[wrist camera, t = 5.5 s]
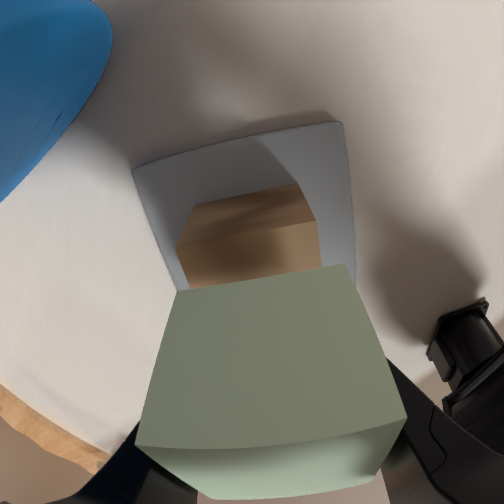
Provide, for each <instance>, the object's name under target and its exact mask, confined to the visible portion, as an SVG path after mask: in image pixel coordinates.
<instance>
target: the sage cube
mask: <svg viewBox="0 0 504 504" xmlns="http://www.w3.org/2000/svg"><path fill="white" fill-rule="evenodd" d="M406 420H407V415H406V412H405V409H404V406H403V403H402V400H401V397H400V395H399V392H398V389H397V386H396V384H395V381H394V378H393V375H392V373H391V370H390V368H389V365H388V362H387V360H386V357H385V355H384V352H383V350H382V347H381V345H380V342H379V340H378V337H377V335H376V333H375V330H374V328H373V325H372V323H371V321H370V318H369V316H368V314H367V311H366V309H365V307H364V304H363V302H362V300H361V298H360V296H359V293H358V291H357V289H356V287H355V284H354V282H353V280H352V278H351V276H350V274H349V272H348V269H347V267H346V265H345V263H343V264H338V265H332V266H327V267H321V268H316V269H310V270H304V271H299V272H293V273H287V274H281V275H275V276H270V277H264V278H258V279H251V280H245V281H239V282H233V283H227V284H220V285H214V286H207V287H201V288H194V289H188V290H181V291H177V293H176V296H175V299H174V302H173V306H172V309H171V312H170V315H169V318H168V322H167V325H166V328H165V332H164V335H163V338H162V342H161V345H160V349H159V352H158V355H157V359H156V363H155V366H154V370H153V373H152V377H151V381H150V384H149V388H148V392H147V396H146V400H145V404H144V407H143V411H142V415H141V420H140V424H139V428H138V432H137V436H136V441H135V446H137V447H138V448H139V449H140V450H141V451H143V452H144V453H145V454H147V455H148V456H149V457H150V458H152V459H153V460H154V461H156V462H157V463H158V464H160V465H161V466H162V467H164V468H165V469H167V470H168V471H169V472H171V473H172V474H174V475H175V476H177V477H178V478H180V479H181V480H183V481H184V482H186V483H187V484H189V485H190V486H192V487H193V488H195V489H197V490H198V491H200V492H201V493H203V494H205V495H206V496H208V497H210V498H212V499H224V500H226V499H227V500H228V499H229V500H242V499H243V500H244V499H266V498H267V499H268V498H281V497H292V496H300V495H308V494H315V493H321V492H327V491H333V490H338V489H343V488H348V487H352V486H356V485H361V484H365V483H369V482H371V481H372V479H373V478H374V476H375V475H376V473H377V471H378V470H379V468H380V467H381V465H382V463H383V462H384V460H385V458H386V457H387V455H388V453H389V451H390V450H391V448H392V446H393V444H394V443H395V441H396V439H397V437H398V435H399V433H400V431H401V430H402V428H403V426H404V424H405V422H406Z"/></svg>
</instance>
